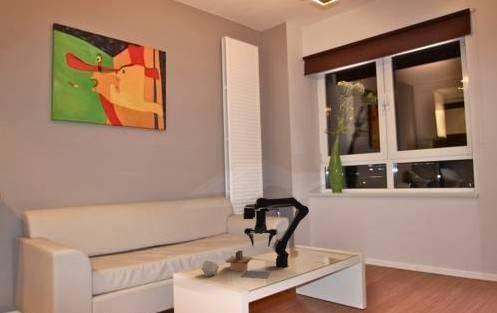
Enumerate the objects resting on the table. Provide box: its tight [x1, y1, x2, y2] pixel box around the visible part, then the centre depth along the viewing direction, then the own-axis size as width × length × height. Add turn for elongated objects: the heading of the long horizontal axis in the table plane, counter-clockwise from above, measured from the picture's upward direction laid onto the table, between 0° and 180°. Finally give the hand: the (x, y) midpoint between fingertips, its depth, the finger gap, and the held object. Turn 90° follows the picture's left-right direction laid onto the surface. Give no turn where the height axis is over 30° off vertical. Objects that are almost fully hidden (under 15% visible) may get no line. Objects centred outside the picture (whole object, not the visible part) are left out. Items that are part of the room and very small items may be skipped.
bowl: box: [229, 262, 249, 272], centre depth 206 cm, size 10×10×5 cm
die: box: [201, 259, 220, 277], centre depth 194 cm, size 8×9×10 cm
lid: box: [225, 250, 253, 264], centre depth 207 cm, size 12×12×5 cm
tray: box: [240, 270, 272, 280], centre depth 194 cm, size 14×14×1 cm
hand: (260, 246), depth 212 cm, fingers open, 9 cm apart
